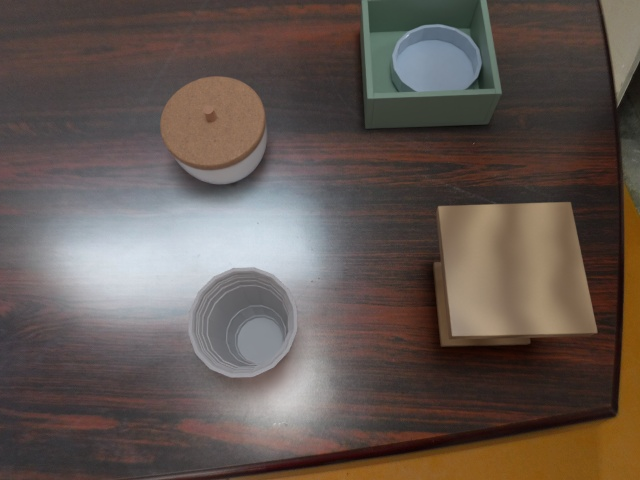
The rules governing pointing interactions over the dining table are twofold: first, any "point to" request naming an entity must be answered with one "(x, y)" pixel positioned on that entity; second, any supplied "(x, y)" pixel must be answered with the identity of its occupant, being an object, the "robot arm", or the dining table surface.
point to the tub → (425, 106)
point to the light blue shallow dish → (435, 60)
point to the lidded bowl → (215, 129)
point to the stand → (510, 275)
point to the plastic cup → (242, 322)
